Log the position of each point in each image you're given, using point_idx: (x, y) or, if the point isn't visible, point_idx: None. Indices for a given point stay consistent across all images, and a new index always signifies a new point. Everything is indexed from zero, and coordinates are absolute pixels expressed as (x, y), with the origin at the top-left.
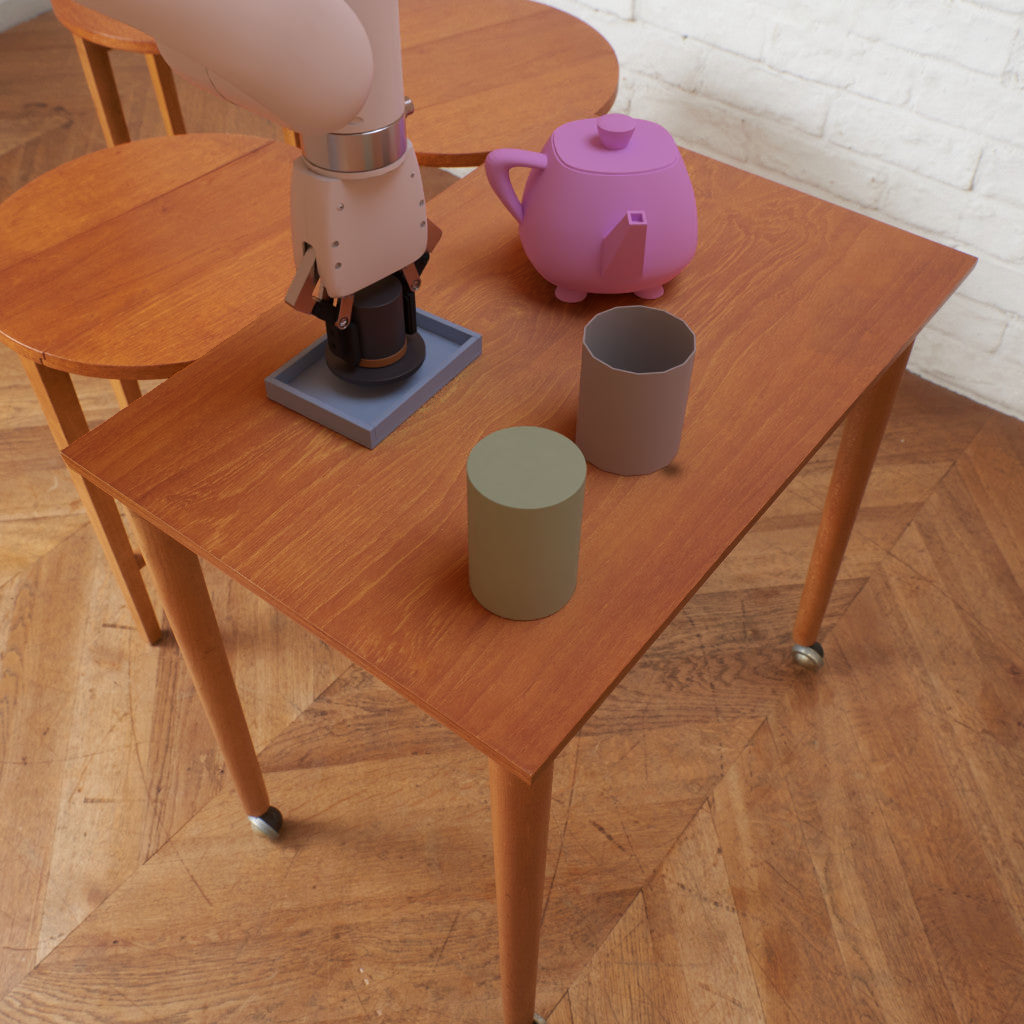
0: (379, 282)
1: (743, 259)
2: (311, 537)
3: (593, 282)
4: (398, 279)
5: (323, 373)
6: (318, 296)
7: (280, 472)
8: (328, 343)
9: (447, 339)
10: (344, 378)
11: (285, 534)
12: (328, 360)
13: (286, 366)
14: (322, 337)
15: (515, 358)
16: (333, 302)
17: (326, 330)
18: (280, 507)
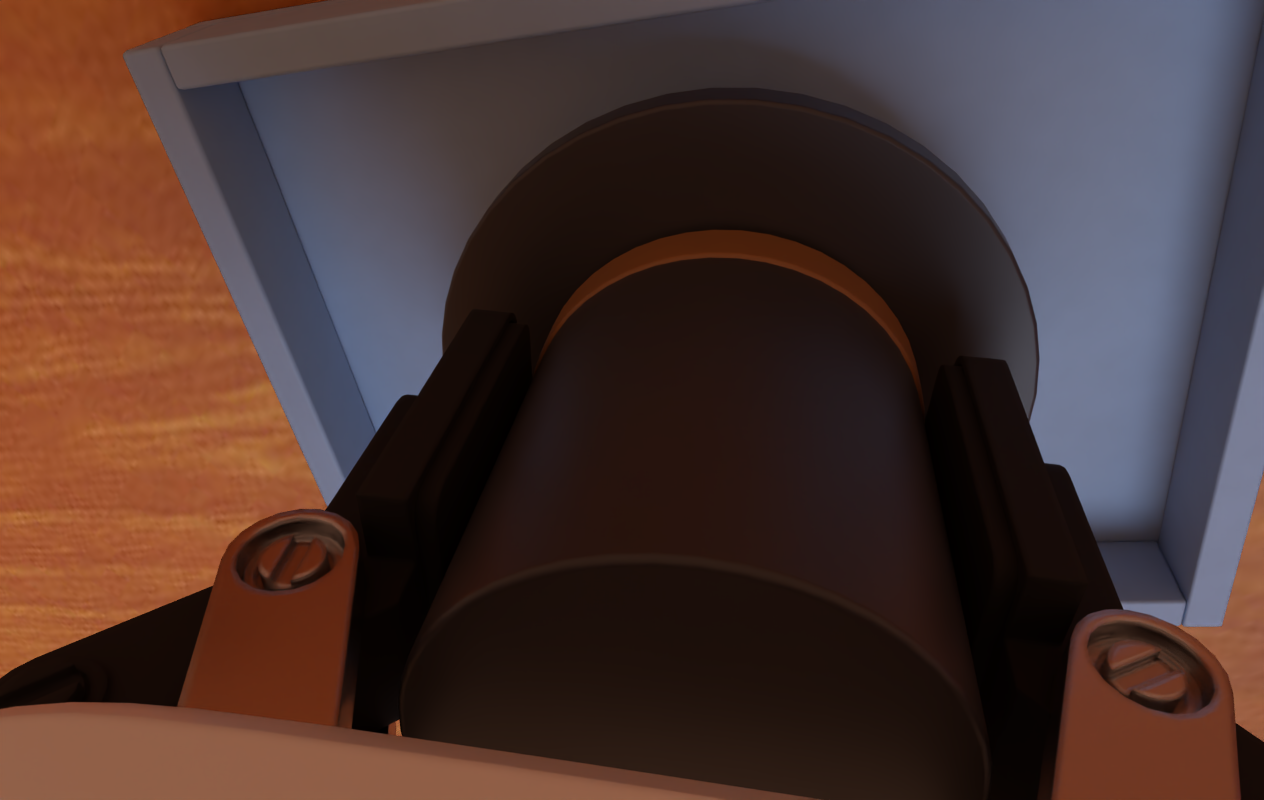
0: (809, 790)
1: None
2: (93, 629)
3: None
4: (1021, 771)
5: (513, 132)
6: (196, 652)
7: (93, 414)
8: (390, 414)
9: (1178, 415)
10: None
11: (29, 581)
12: (461, 280)
13: (282, 58)
14: None
15: (1219, 644)
16: (360, 636)
17: (348, 477)
18: (45, 512)
